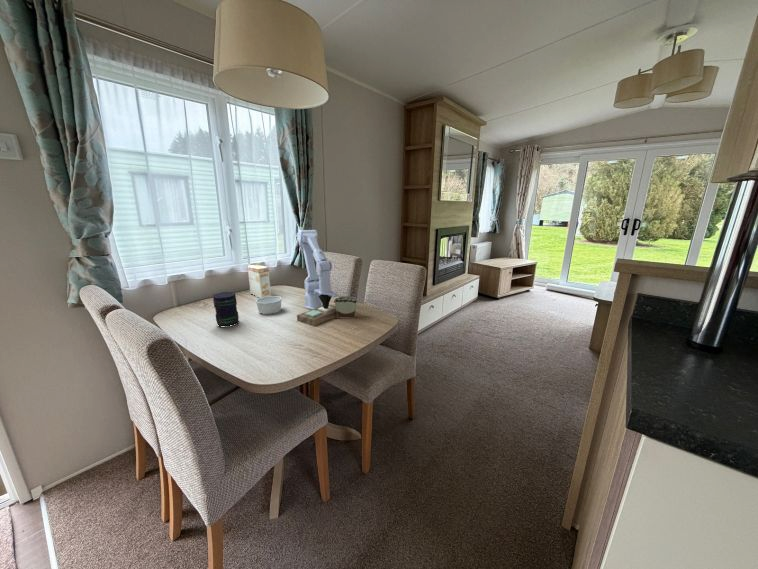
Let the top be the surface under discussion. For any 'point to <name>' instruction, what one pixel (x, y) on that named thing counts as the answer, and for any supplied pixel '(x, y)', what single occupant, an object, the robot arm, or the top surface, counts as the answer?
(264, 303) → the ramekin
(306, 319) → the key console
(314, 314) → the sage key
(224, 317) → the storage jar
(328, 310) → the cream key
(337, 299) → the food container
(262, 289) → the coffeecake box
